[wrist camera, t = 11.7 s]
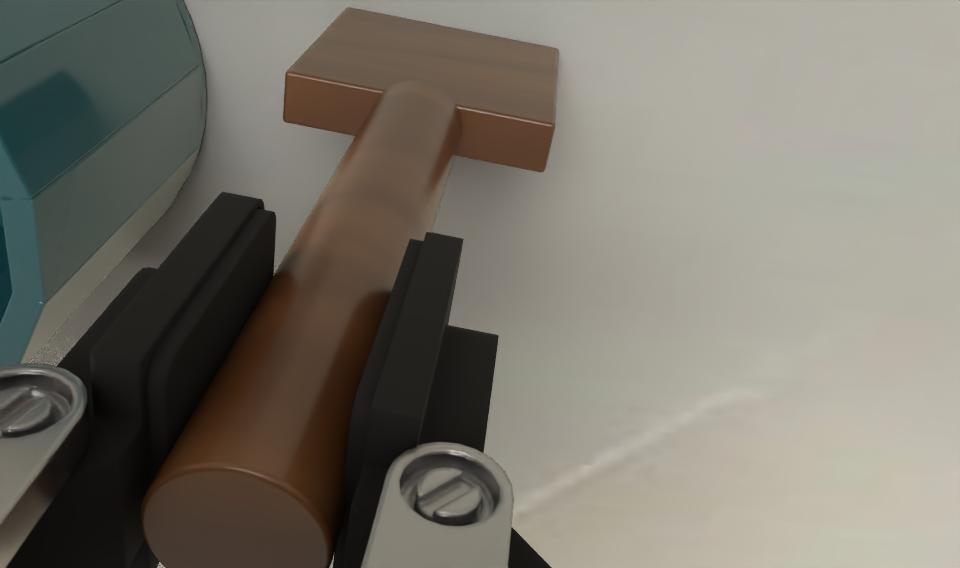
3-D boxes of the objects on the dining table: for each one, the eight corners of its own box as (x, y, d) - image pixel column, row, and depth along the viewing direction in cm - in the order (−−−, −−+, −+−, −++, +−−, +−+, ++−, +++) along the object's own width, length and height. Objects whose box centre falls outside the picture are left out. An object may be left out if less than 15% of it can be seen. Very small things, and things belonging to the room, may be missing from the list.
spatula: (348, -9, 24) (-74, 409, 8) (562, 33, 24) (545, 528, 8) (341, 62, 25) (-43, 550, 9) (547, 102, 25) (506, 656, 9)
